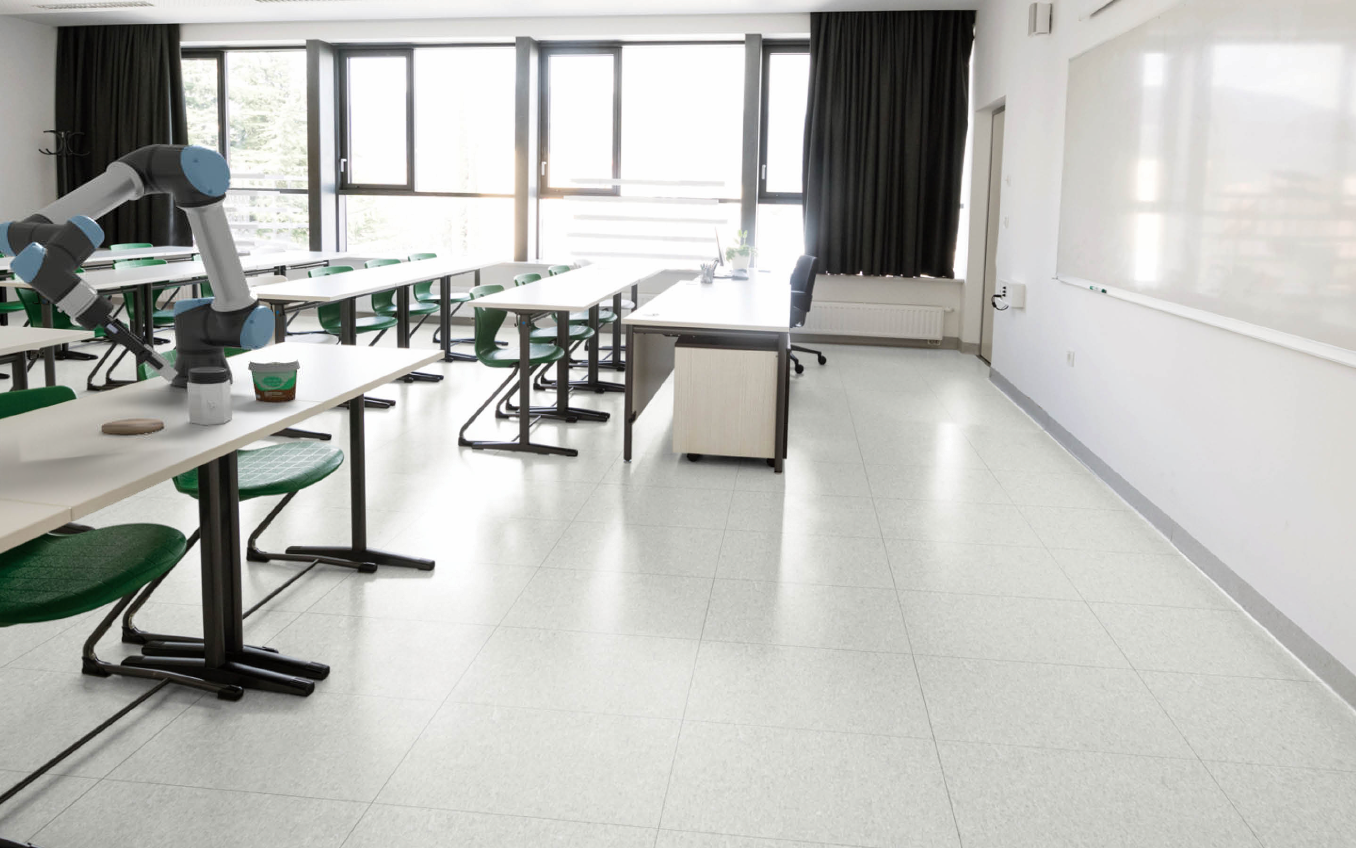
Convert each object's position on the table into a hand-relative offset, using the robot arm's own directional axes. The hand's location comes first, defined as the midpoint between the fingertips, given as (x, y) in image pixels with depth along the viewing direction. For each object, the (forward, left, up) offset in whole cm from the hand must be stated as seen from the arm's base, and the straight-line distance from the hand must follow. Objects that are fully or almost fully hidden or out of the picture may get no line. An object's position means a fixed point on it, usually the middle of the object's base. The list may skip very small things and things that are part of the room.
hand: (170, 372), depth 225 cm
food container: (-19, +26, -12) cm, 34 cm away
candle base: (+1, -8, -12) cm, 15 cm away
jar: (-1, +8, -12) cm, 14 cm away
